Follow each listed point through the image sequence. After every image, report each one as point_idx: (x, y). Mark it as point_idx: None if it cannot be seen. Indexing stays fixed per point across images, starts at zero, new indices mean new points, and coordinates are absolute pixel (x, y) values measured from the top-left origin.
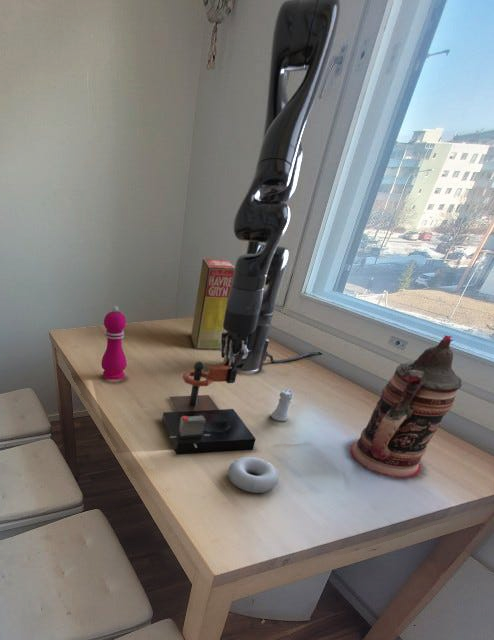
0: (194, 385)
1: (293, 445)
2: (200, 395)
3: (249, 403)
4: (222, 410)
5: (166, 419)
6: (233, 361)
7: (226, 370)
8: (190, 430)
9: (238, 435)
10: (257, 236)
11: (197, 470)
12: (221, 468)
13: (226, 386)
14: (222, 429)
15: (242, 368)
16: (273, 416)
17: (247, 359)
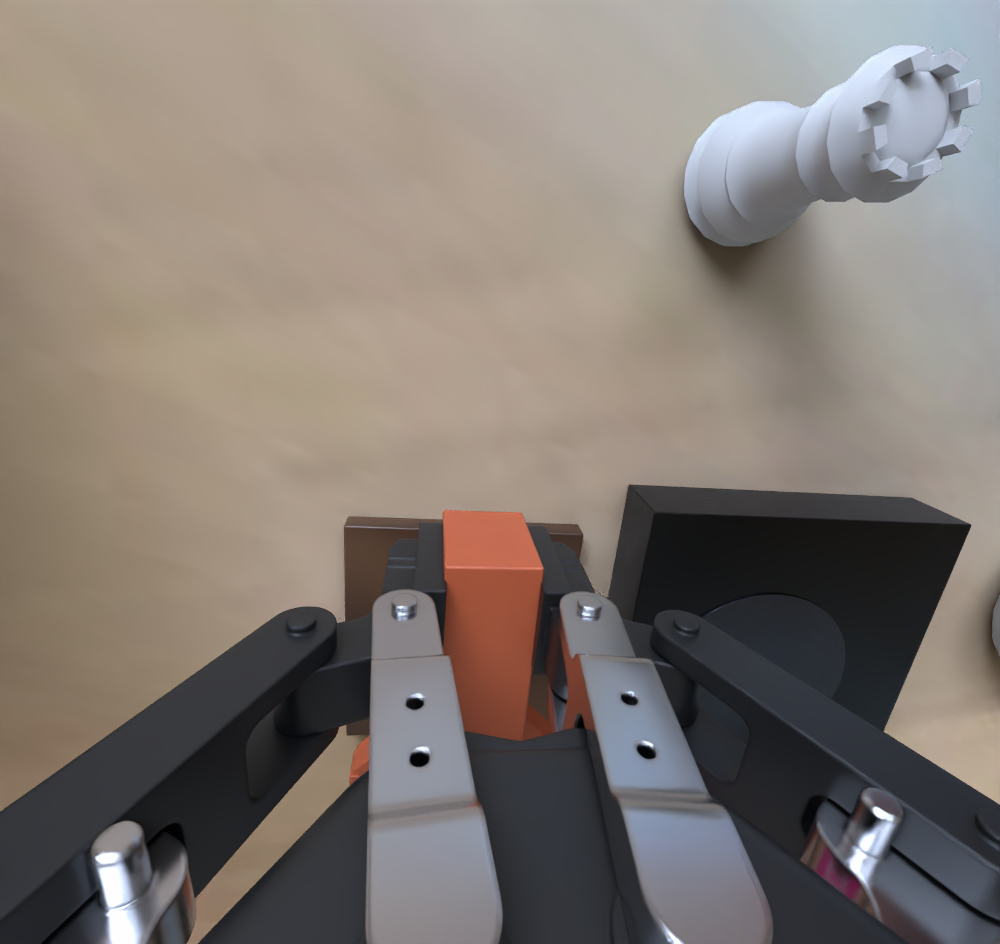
0: None
1: (982, 257)
2: (348, 577)
3: (457, 259)
4: (654, 580)
5: None
6: (434, 611)
7: (528, 668)
8: None
9: (906, 593)
10: None
11: (914, 738)
12: (947, 662)
13: (149, 306)
14: (831, 648)
15: (706, 625)
16: (758, 238)
17: (878, 736)
